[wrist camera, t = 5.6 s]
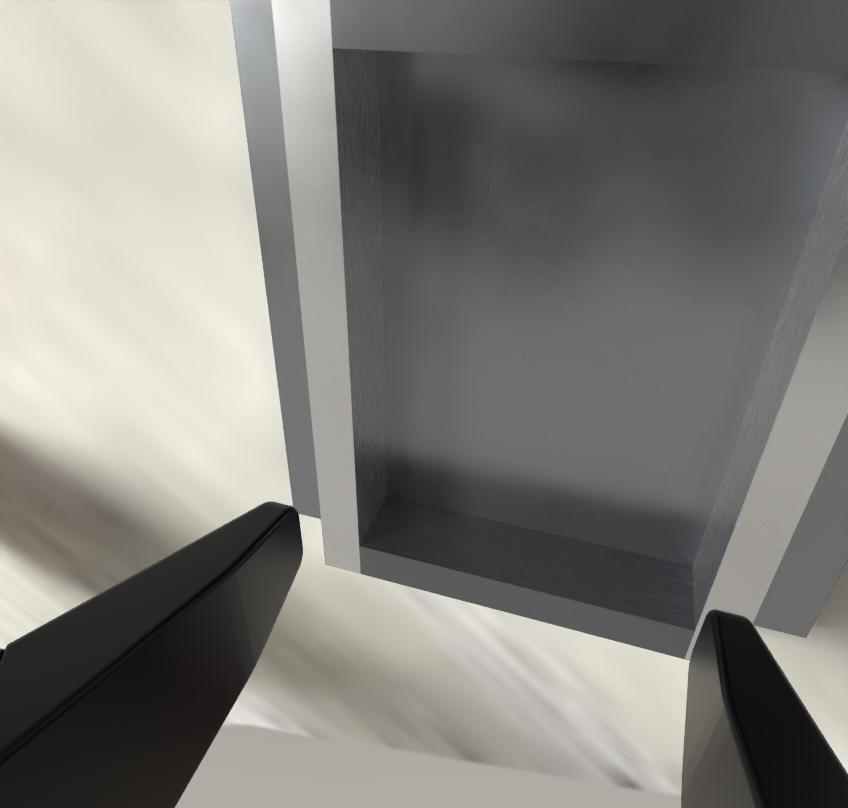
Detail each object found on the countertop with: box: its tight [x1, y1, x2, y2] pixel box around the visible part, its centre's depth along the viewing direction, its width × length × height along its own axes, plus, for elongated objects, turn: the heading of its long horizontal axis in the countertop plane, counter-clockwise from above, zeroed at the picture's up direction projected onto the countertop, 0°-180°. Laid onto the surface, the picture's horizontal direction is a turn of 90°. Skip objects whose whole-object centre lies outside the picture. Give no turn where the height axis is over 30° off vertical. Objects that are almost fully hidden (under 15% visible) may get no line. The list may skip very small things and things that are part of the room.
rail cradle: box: [230, 0, 848, 660], centre depth 11 cm, size 14×21×3 cm, turn 179°
